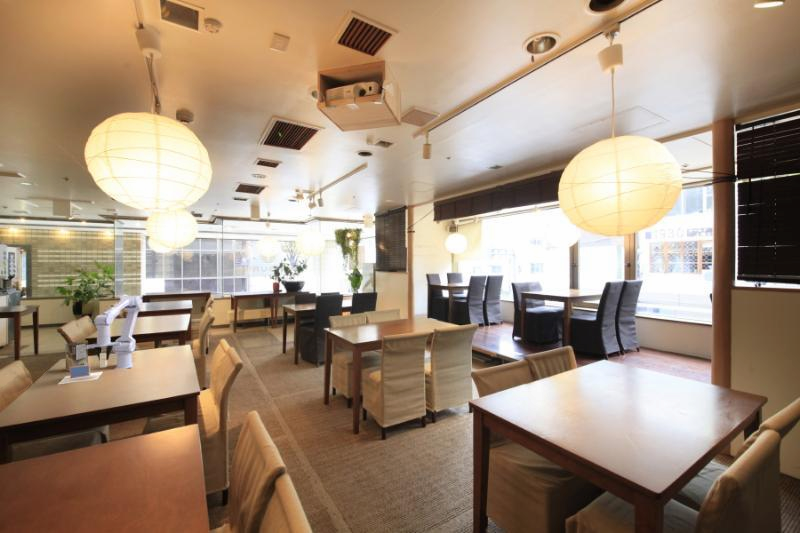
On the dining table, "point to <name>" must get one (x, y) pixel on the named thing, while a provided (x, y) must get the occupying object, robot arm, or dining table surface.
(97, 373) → the mat
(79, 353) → the coffee box
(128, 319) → the robot arm
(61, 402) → the dining table surface
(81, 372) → the tile
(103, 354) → the tall beige block
